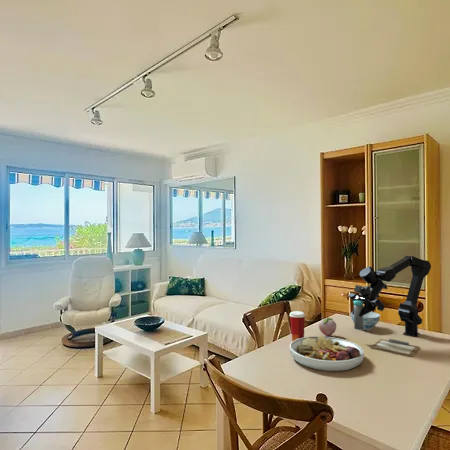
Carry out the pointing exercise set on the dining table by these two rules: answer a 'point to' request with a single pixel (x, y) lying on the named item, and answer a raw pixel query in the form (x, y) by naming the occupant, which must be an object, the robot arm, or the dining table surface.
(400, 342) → the clipboard
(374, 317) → the chinaware
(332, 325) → the decorative fruit
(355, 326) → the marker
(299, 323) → the paper cup
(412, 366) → the dining table surface
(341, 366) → the bowl
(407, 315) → the robot arm
